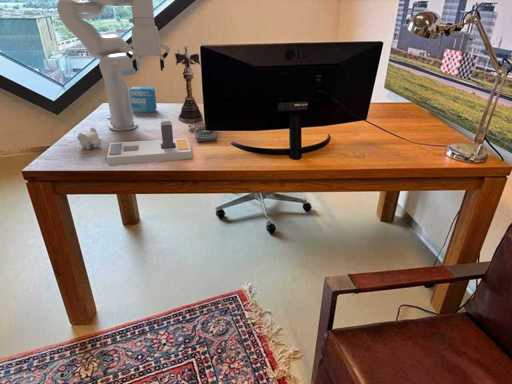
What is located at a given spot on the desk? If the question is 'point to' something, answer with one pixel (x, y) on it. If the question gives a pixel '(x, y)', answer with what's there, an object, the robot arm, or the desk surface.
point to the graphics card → (202, 133)
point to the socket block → (147, 151)
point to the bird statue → (188, 88)
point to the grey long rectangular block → (167, 134)
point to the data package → (143, 99)
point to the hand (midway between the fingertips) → (149, 70)
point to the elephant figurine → (89, 139)
